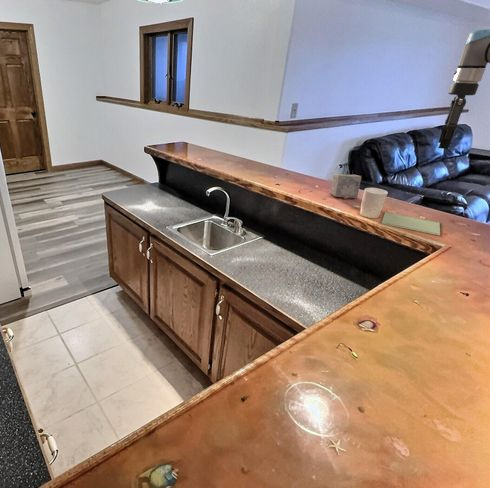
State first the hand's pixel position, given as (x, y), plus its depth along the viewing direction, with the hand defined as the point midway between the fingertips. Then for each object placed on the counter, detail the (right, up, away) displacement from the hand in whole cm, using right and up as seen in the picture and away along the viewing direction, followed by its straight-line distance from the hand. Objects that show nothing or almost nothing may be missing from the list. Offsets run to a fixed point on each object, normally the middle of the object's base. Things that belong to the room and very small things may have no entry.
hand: (442, 145), depth 129 cm
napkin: (-11, -29, +2) cm, 31 cm away
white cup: (-22, -25, +9) cm, 35 cm away
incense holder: (-23, -15, +29) cm, 40 cm away
